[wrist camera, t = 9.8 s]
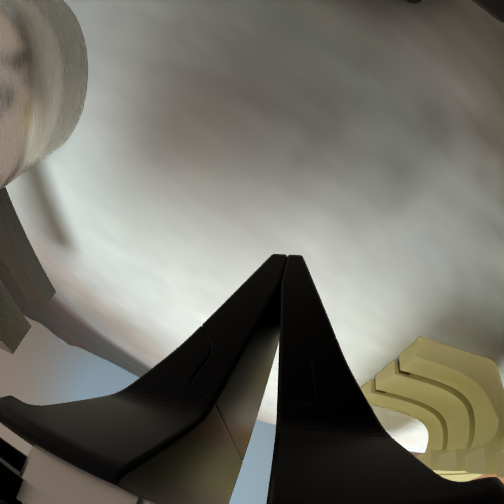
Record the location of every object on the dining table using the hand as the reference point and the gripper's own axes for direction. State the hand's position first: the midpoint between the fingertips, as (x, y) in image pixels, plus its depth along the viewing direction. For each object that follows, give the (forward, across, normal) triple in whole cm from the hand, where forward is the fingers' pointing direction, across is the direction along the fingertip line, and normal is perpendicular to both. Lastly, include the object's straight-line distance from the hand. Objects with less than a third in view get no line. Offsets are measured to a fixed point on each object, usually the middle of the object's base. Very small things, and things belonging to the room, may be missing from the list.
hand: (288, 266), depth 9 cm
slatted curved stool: (+13, -16, +29) cm, 36 cm away
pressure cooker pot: (+13, +23, -5) cm, 27 cm away
